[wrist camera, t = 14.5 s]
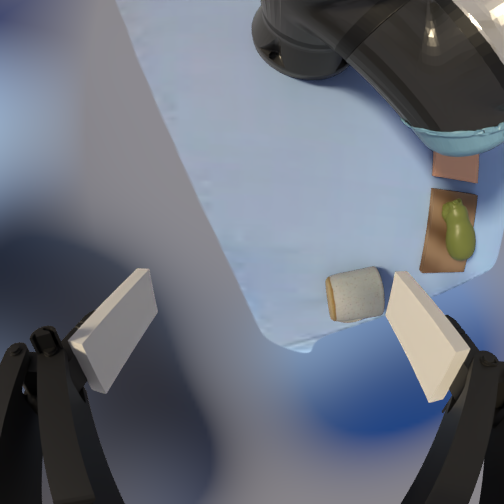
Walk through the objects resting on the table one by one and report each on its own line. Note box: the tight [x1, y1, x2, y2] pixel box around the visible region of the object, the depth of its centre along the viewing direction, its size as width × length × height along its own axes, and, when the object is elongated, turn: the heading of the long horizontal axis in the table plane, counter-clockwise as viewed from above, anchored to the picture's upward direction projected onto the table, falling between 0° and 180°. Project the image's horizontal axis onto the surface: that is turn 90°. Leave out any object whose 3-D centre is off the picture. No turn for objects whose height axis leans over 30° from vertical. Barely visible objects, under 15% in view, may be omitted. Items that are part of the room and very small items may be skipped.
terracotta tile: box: [432, 151, 479, 183], centre depth 31 cm, size 14×10×1 cm
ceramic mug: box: [325, 266, 385, 323], centre depth 40 cm, size 11×8×8 cm
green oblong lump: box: [442, 198, 476, 261], centre depth 34 cm, size 6×5×10 cm
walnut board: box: [419, 188, 478, 273], centre depth 37 cm, size 14×10×1 cm
